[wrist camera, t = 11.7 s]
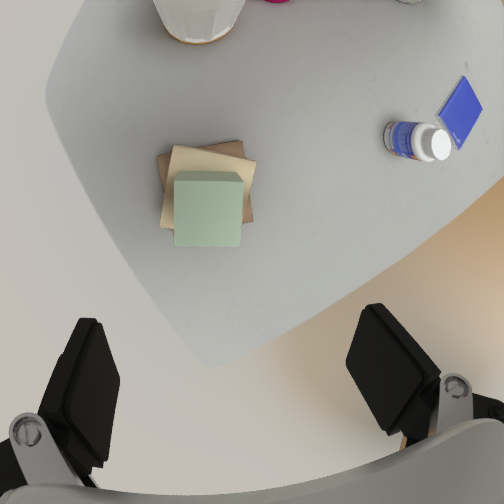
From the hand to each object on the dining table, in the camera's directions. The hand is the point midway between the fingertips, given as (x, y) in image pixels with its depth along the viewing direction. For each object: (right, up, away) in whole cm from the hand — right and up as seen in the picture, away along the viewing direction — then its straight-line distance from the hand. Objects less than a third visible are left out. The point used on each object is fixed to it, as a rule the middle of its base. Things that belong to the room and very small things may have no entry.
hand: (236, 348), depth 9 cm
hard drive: (+37, +29, +26) cm, 54 cm away
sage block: (-4, +9, +21) cm, 23 cm away
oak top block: (-5, +11, +23) cm, 26 cm away
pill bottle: (+22, +20, +27) cm, 40 cm away
